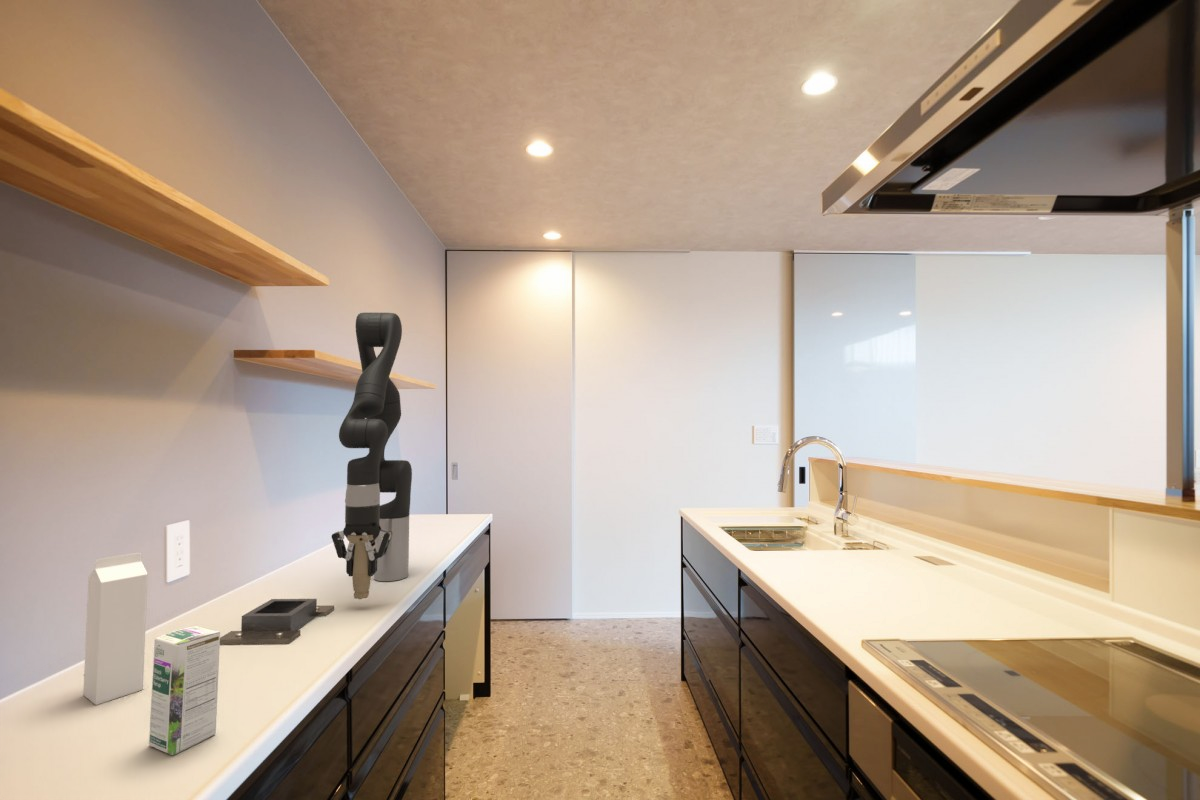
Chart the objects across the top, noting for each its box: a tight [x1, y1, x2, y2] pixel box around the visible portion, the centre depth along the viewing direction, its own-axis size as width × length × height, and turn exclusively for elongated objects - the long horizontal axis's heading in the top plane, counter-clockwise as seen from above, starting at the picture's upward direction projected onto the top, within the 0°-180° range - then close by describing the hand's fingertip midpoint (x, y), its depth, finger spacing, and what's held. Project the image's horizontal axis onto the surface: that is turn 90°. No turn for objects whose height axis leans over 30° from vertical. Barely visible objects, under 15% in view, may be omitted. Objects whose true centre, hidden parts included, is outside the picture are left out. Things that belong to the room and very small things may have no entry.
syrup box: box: [148, 625, 221, 756], centre depth 76 cm, size 6×6×14 cm
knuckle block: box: [220, 598, 335, 646], centre depth 118 cm, size 20×14×4 cm
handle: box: [347, 535, 377, 600], centre depth 129 cm, size 5×6×15 cm
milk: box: [82, 552, 149, 706], centre depth 89 cm, size 6×6×22 cm
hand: (361, 575), depth 129 cm, fingers closed on handle, 4 cm apart
